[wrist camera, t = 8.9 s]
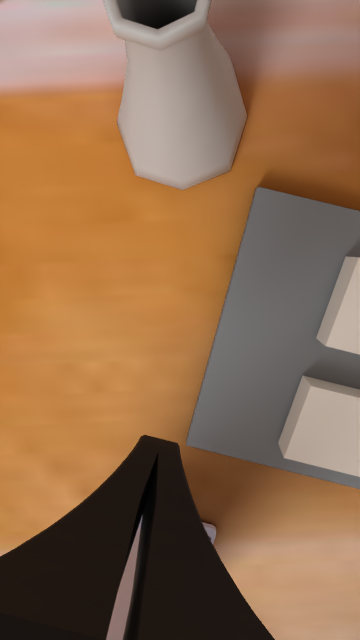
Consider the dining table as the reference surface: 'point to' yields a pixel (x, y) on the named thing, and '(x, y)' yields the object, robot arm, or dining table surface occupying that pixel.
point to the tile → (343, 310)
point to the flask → (176, 92)
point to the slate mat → (276, 330)
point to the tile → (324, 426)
